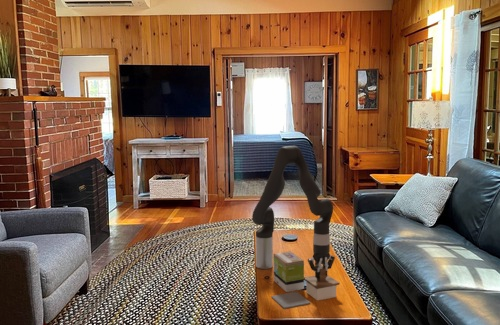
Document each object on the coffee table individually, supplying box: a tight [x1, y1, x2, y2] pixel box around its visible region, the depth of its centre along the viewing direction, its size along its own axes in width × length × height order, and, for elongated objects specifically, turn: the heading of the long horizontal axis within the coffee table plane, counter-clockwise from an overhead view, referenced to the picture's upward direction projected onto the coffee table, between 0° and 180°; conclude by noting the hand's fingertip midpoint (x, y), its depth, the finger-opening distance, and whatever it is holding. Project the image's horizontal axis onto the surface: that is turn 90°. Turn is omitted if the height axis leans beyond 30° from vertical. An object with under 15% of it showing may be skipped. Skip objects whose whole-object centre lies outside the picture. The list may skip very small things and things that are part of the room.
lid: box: [304, 265, 340, 289], centre depth 205 cm, size 12×12×7 cm
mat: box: [271, 291, 311, 310], centre depth 200 cm, size 13×13×1 cm
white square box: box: [306, 282, 337, 301], centre depth 205 cm, size 10×10×6 cm
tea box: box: [273, 250, 305, 293], centre depth 216 cm, size 15×10×15 cm, turn 21°
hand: (321, 278), depth 205 cm, fingers closed on lid, 3 cm apart
